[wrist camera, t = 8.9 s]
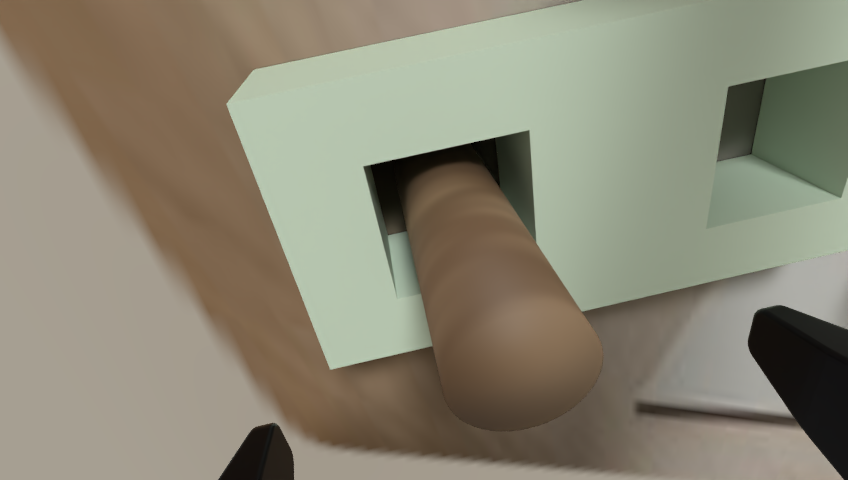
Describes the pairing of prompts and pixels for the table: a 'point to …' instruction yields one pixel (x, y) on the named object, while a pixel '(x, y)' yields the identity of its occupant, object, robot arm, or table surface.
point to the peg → (491, 298)
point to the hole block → (560, 151)
